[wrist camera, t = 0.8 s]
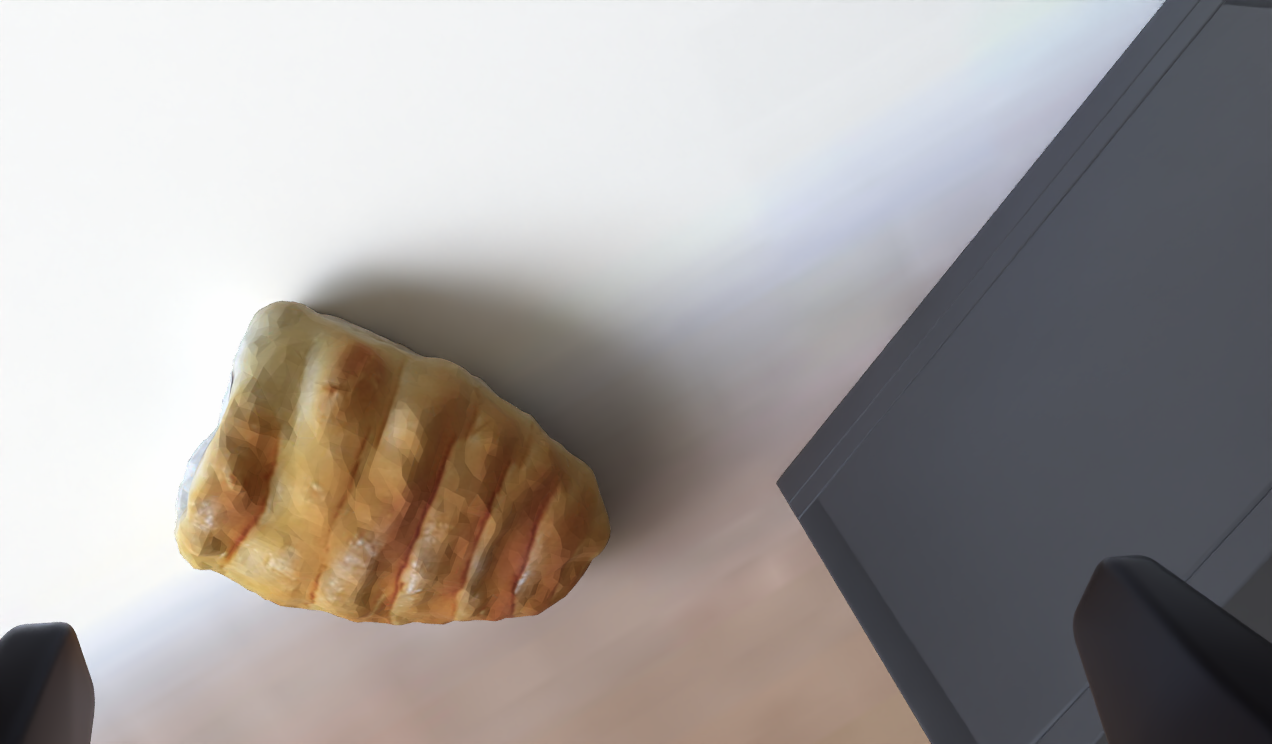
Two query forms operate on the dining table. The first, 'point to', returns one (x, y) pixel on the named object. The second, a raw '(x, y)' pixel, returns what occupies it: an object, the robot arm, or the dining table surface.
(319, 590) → the pastry
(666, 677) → the dining table surface
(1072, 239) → the oven
